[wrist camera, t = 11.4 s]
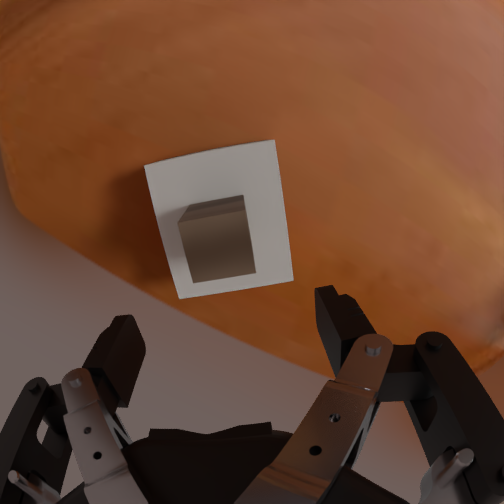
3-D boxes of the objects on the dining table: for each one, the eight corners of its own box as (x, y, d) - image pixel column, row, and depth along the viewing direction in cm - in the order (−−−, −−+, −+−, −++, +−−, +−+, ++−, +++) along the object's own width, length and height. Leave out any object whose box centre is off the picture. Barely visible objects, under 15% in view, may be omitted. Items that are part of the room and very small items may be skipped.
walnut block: (189, 204, 26) (177, 222, 21) (243, 194, 26) (245, 210, 21) (201, 254, 28) (193, 283, 23) (252, 245, 28) (256, 273, 23)
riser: (160, 160, 30) (144, 165, 25) (267, 139, 30) (274, 139, 25) (187, 273, 36) (179, 299, 30) (284, 257, 35) (293, 280, 30)
